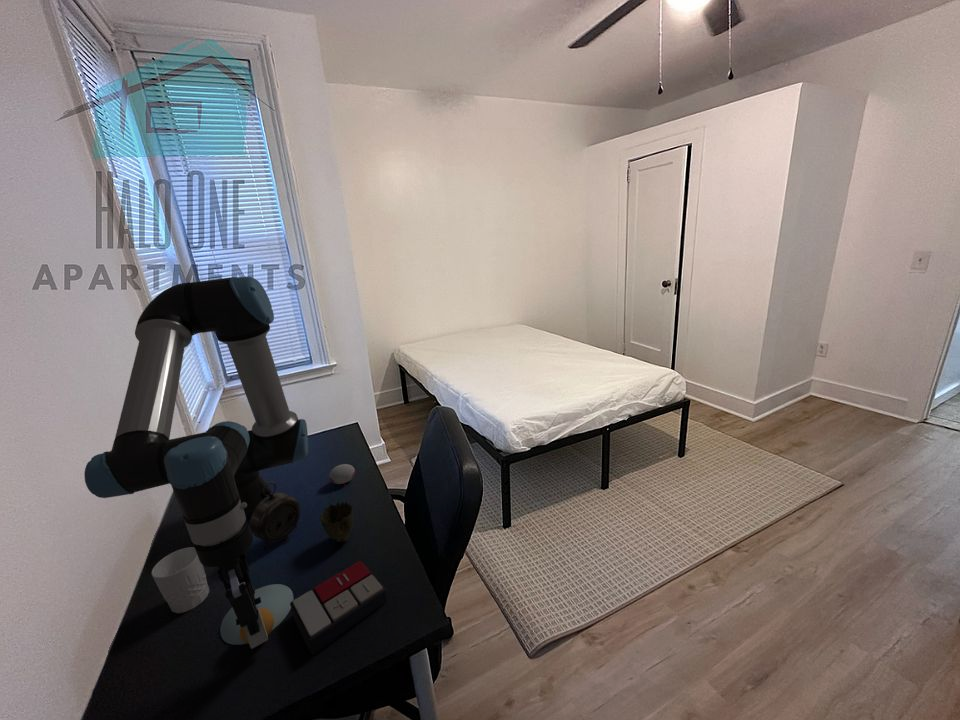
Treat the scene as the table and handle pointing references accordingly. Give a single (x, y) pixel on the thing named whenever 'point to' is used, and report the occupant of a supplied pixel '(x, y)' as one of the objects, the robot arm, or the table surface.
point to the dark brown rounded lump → (338, 521)
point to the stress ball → (342, 474)
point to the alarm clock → (275, 517)
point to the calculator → (337, 605)
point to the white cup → (181, 580)
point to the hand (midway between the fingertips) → (259, 641)
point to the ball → (267, 621)
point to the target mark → (271, 599)
